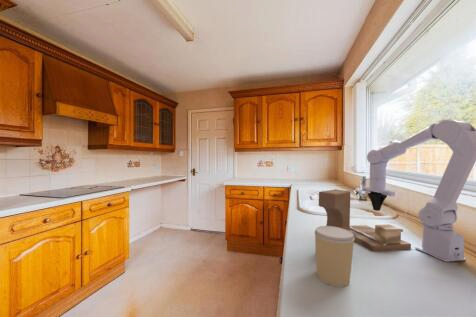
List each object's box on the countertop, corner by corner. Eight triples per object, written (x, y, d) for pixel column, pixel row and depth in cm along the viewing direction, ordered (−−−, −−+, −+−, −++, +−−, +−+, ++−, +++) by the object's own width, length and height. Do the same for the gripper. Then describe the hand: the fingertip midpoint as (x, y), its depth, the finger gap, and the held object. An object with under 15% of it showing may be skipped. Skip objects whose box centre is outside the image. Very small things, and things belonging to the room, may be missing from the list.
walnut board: (410, 248, 72) (410, 243, 72) (373, 251, 69) (373, 245, 69) (365, 229, 91) (365, 224, 91) (335, 230, 89) (335, 226, 89)
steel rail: (386, 245, 70) (386, 243, 70) (383, 245, 70) (383, 243, 70) (345, 225, 90) (345, 224, 90) (343, 225, 89) (343, 224, 89)
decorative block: (333, 259, 63) (334, 194, 63) (316, 252, 68) (317, 191, 68) (350, 250, 70) (351, 191, 70) (333, 244, 74) (335, 189, 74)
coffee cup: (340, 267, 58) (341, 225, 58) (361, 289, 49) (363, 238, 49) (308, 267, 58) (309, 225, 58) (323, 289, 48) (324, 238, 48)
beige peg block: (407, 242, 72) (408, 228, 72) (385, 243, 71) (386, 229, 71) (395, 237, 77) (396, 224, 77) (374, 238, 75) (375, 224, 75)
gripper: (401, 180, 81) (400, 214, 81) (371, 176, 95) (371, 206, 95) (386, 180, 80) (385, 215, 80) (358, 176, 94) (357, 206, 94)
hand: (376, 210), depth 88 cm, fingers closed
